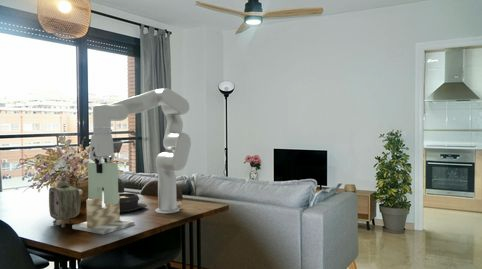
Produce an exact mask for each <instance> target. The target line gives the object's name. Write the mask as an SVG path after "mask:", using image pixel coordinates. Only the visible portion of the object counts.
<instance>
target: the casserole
mask: <svg viewBox="0 0 482 269" xmlns="http://www.w3.org/2000/svg"><path fill="white" fill-rule="evenodd" d="M118 194H119V205H120V214H126V213H131V212H134V211H136V210H139V209H143V208H146V207H147V206H148V205H147V204H146V203H141V202H139V201H140V197H139V195H138V194H136V193H130V192H128V193H127V192H126V193H124V192H123V193H122V192H121V193H118Z"/></svg>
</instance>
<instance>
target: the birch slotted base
mask: <svg viewBox="0 0 482 269" xmlns="http://www.w3.org/2000/svg"><path fill="white" fill-rule="evenodd" d="M119 194H120V193H118V204H105V203H104V204H105V206H103V197H102V198H93V199H86V201H85V202H86V221H84V222H80V223H76V224H71V225H72V226H71V227H72V229H73V230H79V231H84V232H89V233H92V234H93V233H94V234H98V235H99V234H100V235H105V234H109V233H112V232H115V231H119V230H122V229H126V228H128V227H132V226H134V225H136V224H135V223H136V222H135V221H134V220H127V219H122V218H121V215H120V214H121V213H120V205H119ZM120 218H121V219H120Z"/></svg>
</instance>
